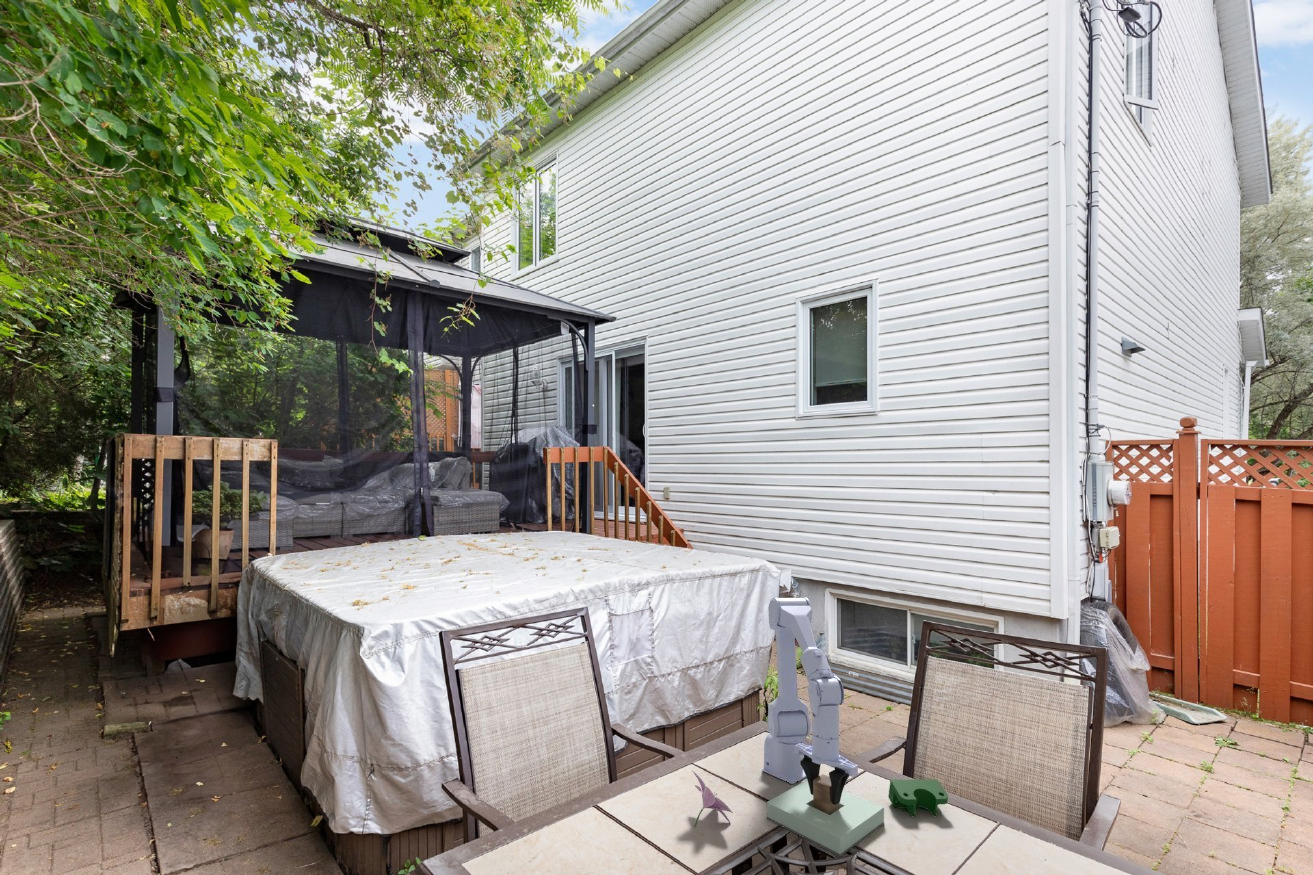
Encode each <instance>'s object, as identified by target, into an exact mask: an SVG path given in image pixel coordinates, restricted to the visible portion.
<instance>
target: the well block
mask: <svg viewBox="0 0 1313 875" xmlns="http://www.w3.org/2000/svg"><path fill="white" fill-rule="evenodd" d="M765 816H766V817H765V819H766V820H768V821H771V822H772V823H774V824H776V825H778V826H780V825H782V826H784V827H785V828H786V829H785V828H784V829H785V830H787V829H788V832H792V833H794V834H795V835H797V836H799V835H801V836H803V837H804V838H803V837H802V838H803V839H805V838H806V839H805V840H806V841H809V842H811V843H812V844H815V846H816V845H817V846H819V847H820V848H823V850H827V851H828V852H830V853H832V854H835V855H836V856H838V857H840V856H841V855H842V856H843V855H845V854H846V853H847V852H849V851H850V850H851V849H852V848H851V847H852V846H854V847H856V845H858V844H859V843H861V842H862V841H864V840H865V839H866V838H867V837H869V836H870V835H871V834H872V833H874V832H875V831H876V829H877V830H878V829H880V828H881V827H882V826H883V825H885V807H884V806H883V805H880V804H877V803H874V802H873V801H871V800H869V799H866V798H863V797H860V796H859V795H856V794H854V793H851V792H849V791H847V790H844V789H843V791H842V795H841V800H840V803H839V810H837V811H836V812H834V813H833V814H831V815H828V814H826V813H824V812H822V811H820V810H818V809H815V808H813V795H812V794H811V793H810V788H809V784H808V780H807V779H806V780H804V781H802V782H801V783H799V784H797V785H795V786H793V787H791V788H790V789H788V790H786V791H784V792H782V793H781V794H779V795H777V796H776V797H774V798H771V799H769V800H768V801H766V815H765ZM782 826H781V827H782ZM801 836H800V837H801ZM850 848H851V849H850ZM849 849H850V850H849ZM848 850H849V851H848ZM844 853H845V854H844ZM842 856H841V857H842Z"/></svg>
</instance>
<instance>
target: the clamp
mask: <svg viewBox="0 0 1313 875" xmlns="http://www.w3.org/2000/svg"><path fill="white" fill-rule="evenodd" d="M888 790H889V791H888V797H887V798H888V799H889V801H890V802H891V805H892V806H893V808H895V807H903V808H906V810H907V811H908V813H909V815H910V814H911V815H910V817H912V816H916V809H917V808H924V809H926V810H927V811H929V812H930V813H931V814H932V816H933V817H934V816H936V817H937V814H938V806H939V805H947V804H948V802H949V795H948V793H947V791H946V789H945V788H944V787H943V786H942V784H941V783H940V782H939V780H938V779H937V778H935V779H928V778H927V779H890V780H889V788H888Z"/></svg>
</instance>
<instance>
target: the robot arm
mask: <svg viewBox="0 0 1313 875" xmlns="http://www.w3.org/2000/svg"><path fill="white" fill-rule="evenodd" d="M767 608H768V624H769V629H771V630H773V631H774V634H775V643H776V644H775V648H776V649H775V650H776V666H777V667H776V669H777V687H778V689H777V691H778V692H777V693H778V696H777V697H776V698H775V699H774V700H772V701H771V702H770V703H769V705H768V709H767V710H768V711H767V712H768V713H767V714H768V715H767V719H766V720H767V721H766V722H767V723H766V724H767V729H768V734H767V736H766V737H765V739H764V744H763V767H762V768H761V771H762V772H764V773H766V774H768V775H771V776H773V777H775V778H777V779H779V780H781V781H784V782H786V781H787V782H786V783H788V782H789V784H790V785H795V784H797V783H798V782H800V781H802V780H803V779H805V778H806V780H808V784H809V788H810V793H811V794H812V795H813V780H814V779H816V778H817V777H819V776H820V772H821V771H820V770H821V766H822V765H826V766H829V767H831V768H833V770H831V771H830V772H829V773H828V776H829V777H830V781H831V787H832V804H834V805H836V804H838V803H840V800H841V795H842V791H843V790H844V788H845V786H846V783H847V782H848V779H849V777H852V778H854V777H856V776H857V775H858V774H859V765H858V764H856V763H853V762H852V761H850V760H849V759H847V758H846V757H844V756H843V755H840V706H841V705H843V704H844V702H845V690H844V689H845V688H844V686H843V682H842V680H841V679H840V677H838V676H837V674H836V673H833V672H832V670H831V667H830V664H829V662H828V660H827V657H826V654H825V652H824V651H823V650H822V649H821V648H818V646H817V643H816V640H815V636H814V631H813V629H812V625H811V623H812V618H813V606H812V602H811V601H810V600H809V598H808V597H806V596H804V597H777V596H776V597H775V596H774V597H772V598H771V599H770V600H769V603H768V607H767ZM796 641H797V643H798V646H799V648H800V650H801V652H802V654H801V656H800V663H801V665H802V669H803V670H804V674H805V675H806V679H807V682H808V687H807V695H808V698H809V708H810V712H811V713H812V715H811V716H812V717H811V716H810V714H809V708H808V705H807V704H806V703H805V702H804V701H802V700H801V699H800V698H799V694H798V693H799V692H798V691H799V690H798V689H799V688H798V673H797V654H796ZM810 717H811V718H812V722H811V718H810ZM810 733H811V745H810V744H804V742H805V741H806V739H807V737H809V735H810ZM821 764H822V765H821ZM797 781H798V782H797Z"/></svg>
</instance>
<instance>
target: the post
mask: <svg viewBox="0 0 1313 875" xmlns="http://www.w3.org/2000/svg"><path fill="white" fill-rule="evenodd" d="M813 808H815V809H818V810H820V811H822V812H824V813H826V814H828V815H831V814H833V813H834V812H836V811H837V810H839V803H838V804H836V805H834V804H832V787H831V781H830V777H829V775H826V774H824V773H822V774H819V777H817V778H816V779H814V780H813Z"/></svg>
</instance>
